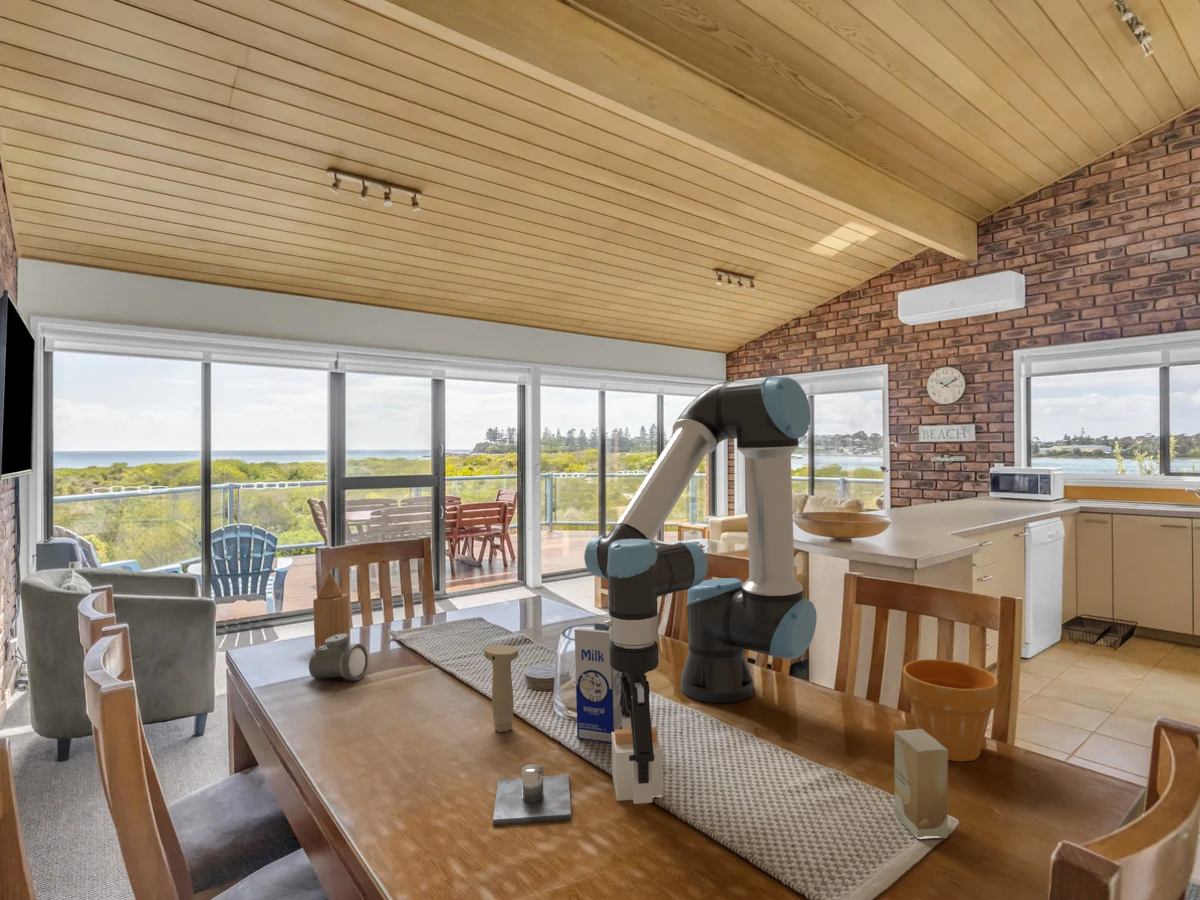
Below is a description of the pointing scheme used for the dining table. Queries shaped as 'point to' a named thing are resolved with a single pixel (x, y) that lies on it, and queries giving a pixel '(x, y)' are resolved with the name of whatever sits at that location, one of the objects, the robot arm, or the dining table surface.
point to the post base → (532, 809)
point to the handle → (502, 685)
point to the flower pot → (951, 703)
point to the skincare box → (921, 783)
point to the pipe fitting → (339, 659)
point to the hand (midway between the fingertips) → (636, 777)
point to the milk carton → (596, 685)
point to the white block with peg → (623, 766)
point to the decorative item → (330, 612)
